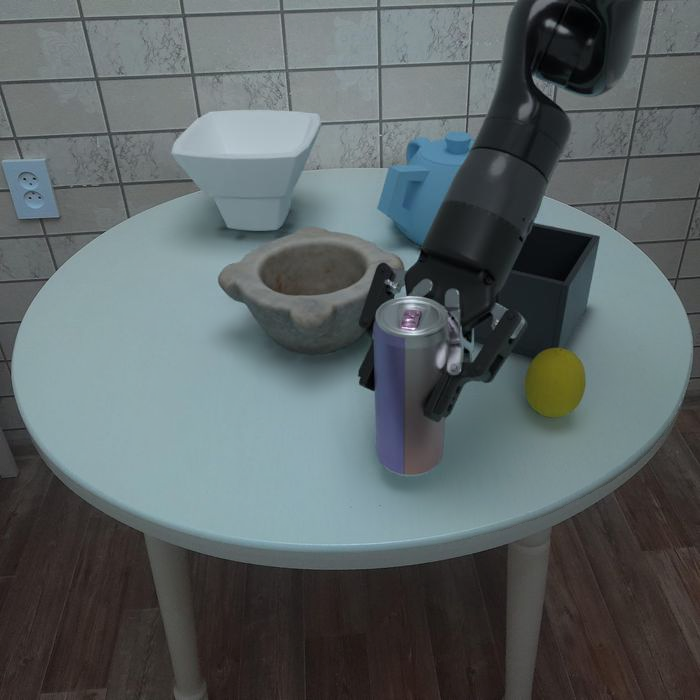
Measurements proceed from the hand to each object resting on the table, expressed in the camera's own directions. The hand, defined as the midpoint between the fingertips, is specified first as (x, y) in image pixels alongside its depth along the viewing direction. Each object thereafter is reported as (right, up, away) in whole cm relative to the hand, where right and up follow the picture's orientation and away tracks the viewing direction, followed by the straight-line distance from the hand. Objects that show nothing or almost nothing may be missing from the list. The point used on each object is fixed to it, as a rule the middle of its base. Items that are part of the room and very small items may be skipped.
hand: (398, 402), depth 59 cm
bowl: (-18, +23, +49) cm, 57 cm away
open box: (+16, +8, +25) cm, 31 cm away
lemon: (+16, -2, +12) cm, 20 cm away
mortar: (-8, +6, +25) cm, 27 cm away
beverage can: (+1, -5, +5) cm, 8 cm away
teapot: (+11, +22, +45) cm, 52 cm away
